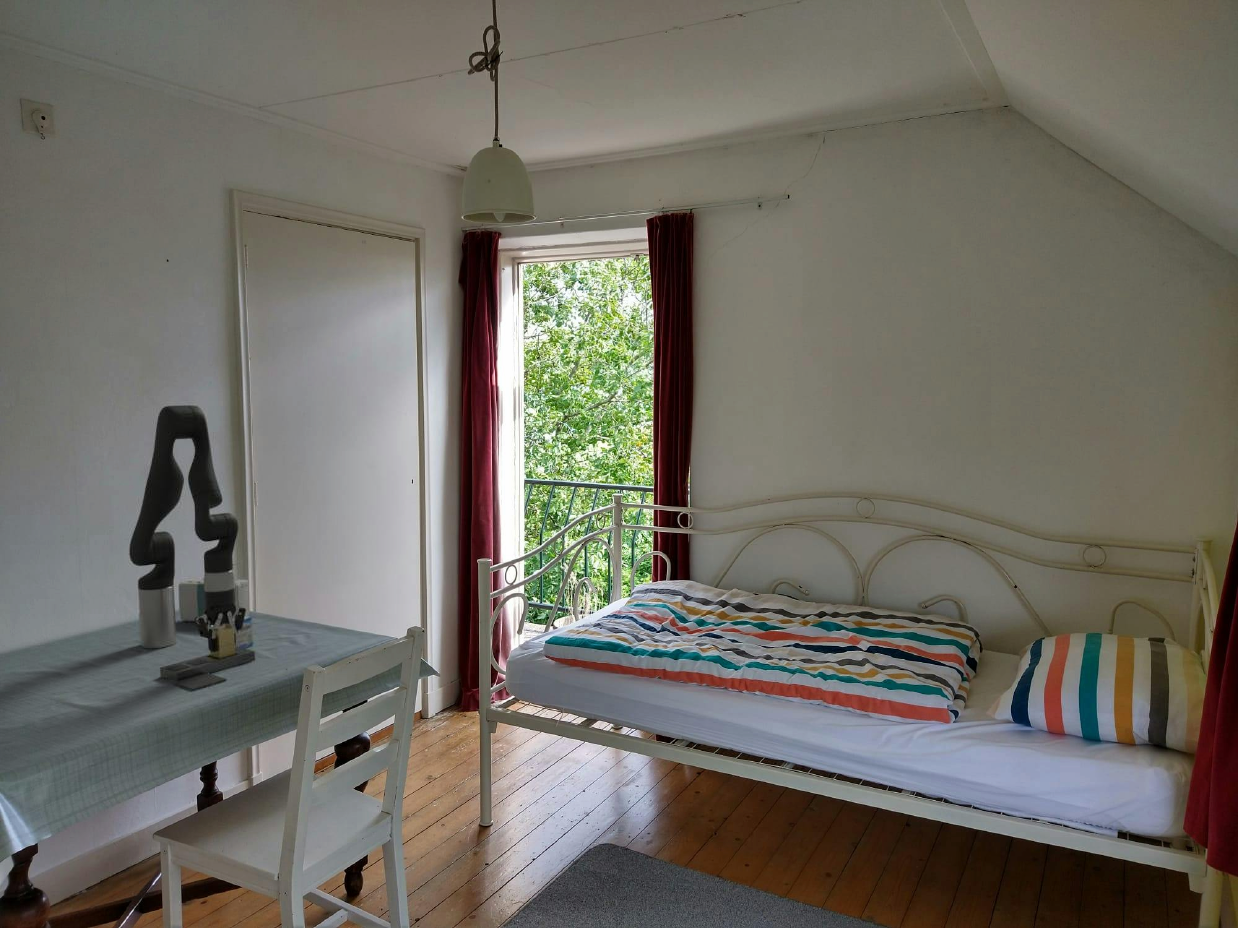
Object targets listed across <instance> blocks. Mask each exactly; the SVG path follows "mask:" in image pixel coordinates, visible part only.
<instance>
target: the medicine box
mask: <svg viewBox="0 0 1238 928" xmlns="http://www.w3.org/2000/svg"><path fill="white" fill-rule="evenodd" d="M233 620H235V618H234V619H233ZM221 626H224V624H222V625H221ZM253 637H254V636H253V617H251V616H249V617H248V616H245V617H244V622H243V626H242V629H241V630H238V631H237V632H236V644H235V647H240V648H244V649H248V648H250V647H252V646H254V639H253ZM251 645H252V646H251ZM247 647H248V648H247Z"/></svg>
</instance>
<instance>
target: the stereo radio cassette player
mask: <svg viewBox="0 0 1238 928" xmlns="http://www.w3.org/2000/svg"><path fill="white" fill-rule="evenodd" d="M243 561H244V559H241V560H240V561H237V562H236V563H233V567H234V566H235V565H237V564H239V563H241V562H243ZM234 581H235V606H236V608H238V607H242V608H245V609H246V612H245V616H248V617H250V606H249V604H250V603H249V602H250V601H249V584H250V583H249V580H248V579H234ZM178 610H179V617H180V620H183V621H184V622H186V621H188V622H195V617H200V616H202V615H204V613H205V611H206V606H205V595H204V578H203V577H202V578H201V577H200V578H199V577H198V578H197V577H196V578H191V579H187V580H185V581H182V582H179V584H178ZM235 616H236V614H235V613H234V615H233V619H234V618H235ZM206 623H209V620H208V619H206Z"/></svg>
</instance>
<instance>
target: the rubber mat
mask: <svg viewBox="0 0 1238 928" xmlns="http://www.w3.org/2000/svg"><path fill="white" fill-rule="evenodd" d="M225 682H227V678H224V677H221V676H219V675H215V674H211V673H209V674H208V673H204V674H201V675H198V676H194V677H191V678H187V679H184V680H180V681H177V682H174V681H172V685H173V684H174V686H176V687H179V686H180V687H179V688H183V689H185V690H188V689H190V690H189V691H191V690H192V692H194V690H195V691H197V689H198V690H201V689H204V688H207V687H206V686H208V687H211V686H213V685H212V684H214V685H217V683H218V684H221V683H225ZM210 685H211V686H210ZM200 688H201V689H200Z"/></svg>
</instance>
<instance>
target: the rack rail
mask: <svg viewBox="0 0 1238 928" xmlns="http://www.w3.org/2000/svg"><path fill="white" fill-rule="evenodd" d="M255 653H256V652H255V650H250V649H248V648H246V649H244V648H240V647H235V656H232V657H228V658H225V659H221V660H217V659H213V658H210V653H209V654H206V655H202V656H199V657H195V658H190V659H188V660H183V661H180V662H175V663H173V664H169V665H165V666H162V667H160V668H159V669H160V670H159V671H160V672H159V673H160V674H159V675H160V676H159V677H160V678H162V679H166V680H169V681H171V680H172V682H174V681H175V682H177V681H180V680H184V679H187V678H191V677H194V676H198V675H201V674H204V673H209V674H211V673H216V672H218V671H222V670H226V669H229V668H232V667H236V666H240V665H242V664H241V663H243V664H247V663H250V662H253V661H252V660H254V661H255V660H256V654H255ZM246 662H247V663H246ZM225 668H226V669H225ZM215 671H216V672H215Z"/></svg>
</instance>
